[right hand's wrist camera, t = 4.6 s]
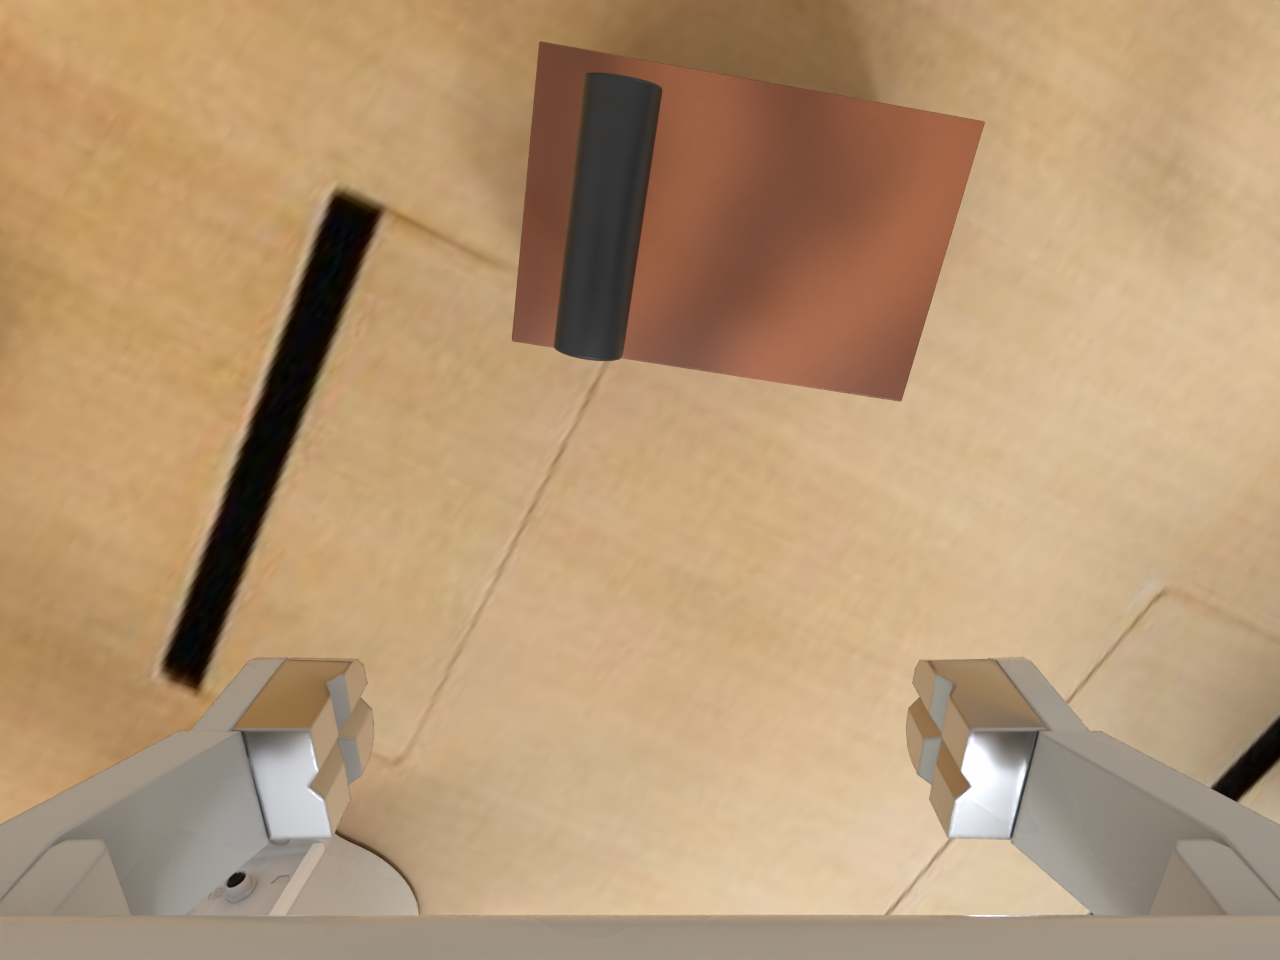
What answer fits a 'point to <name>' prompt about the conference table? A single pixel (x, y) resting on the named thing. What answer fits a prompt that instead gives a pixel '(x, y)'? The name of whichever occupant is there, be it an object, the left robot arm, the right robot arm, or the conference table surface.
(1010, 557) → the conference table surface
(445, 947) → the right robot arm
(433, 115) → the conference table surface
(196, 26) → the conference table surface
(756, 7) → the conference table surface
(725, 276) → the lid
